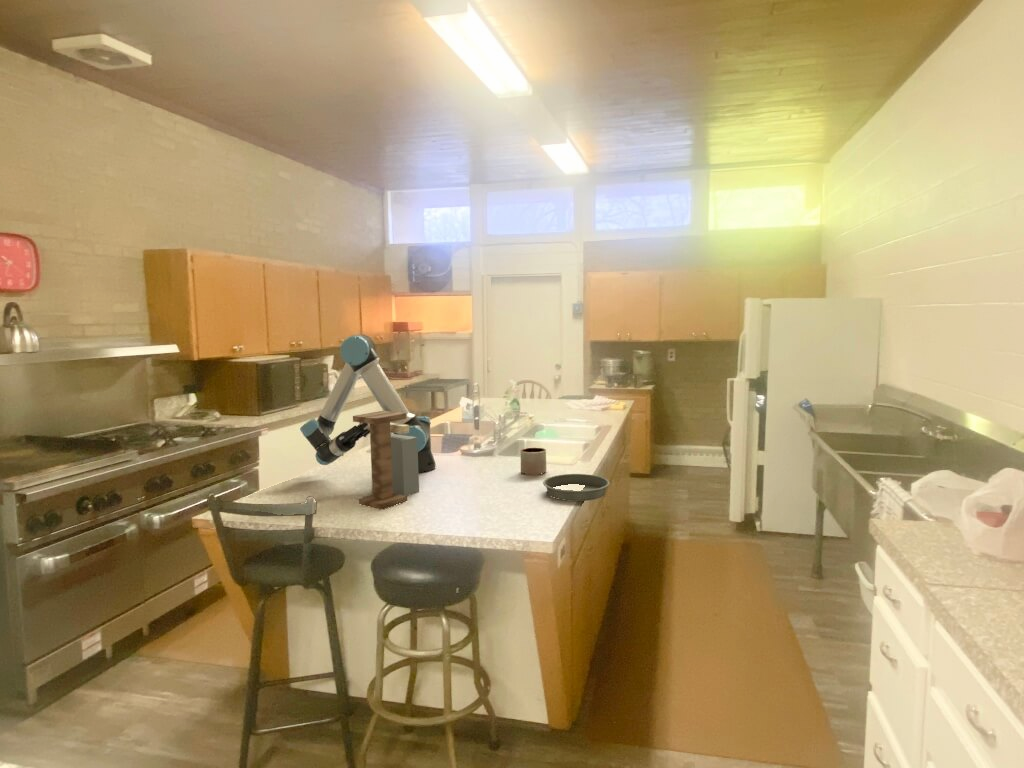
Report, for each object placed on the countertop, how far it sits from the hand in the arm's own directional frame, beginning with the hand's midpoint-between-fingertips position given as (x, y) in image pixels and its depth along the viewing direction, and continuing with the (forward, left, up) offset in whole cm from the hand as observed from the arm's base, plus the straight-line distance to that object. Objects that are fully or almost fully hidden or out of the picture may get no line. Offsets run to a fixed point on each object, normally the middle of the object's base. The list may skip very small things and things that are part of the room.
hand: (376, 419), depth 255 cm
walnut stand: (0, +22, -27) cm, 35 cm away
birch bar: (-2, +3, -4) cm, 6 cm away
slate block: (-6, +7, -27) cm, 29 cm away
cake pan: (-70, +31, -28) cm, 81 cm away
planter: (-64, -5, -27) cm, 70 cm away
